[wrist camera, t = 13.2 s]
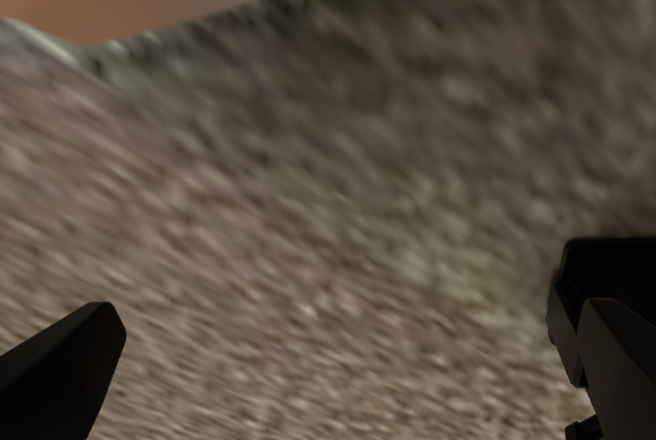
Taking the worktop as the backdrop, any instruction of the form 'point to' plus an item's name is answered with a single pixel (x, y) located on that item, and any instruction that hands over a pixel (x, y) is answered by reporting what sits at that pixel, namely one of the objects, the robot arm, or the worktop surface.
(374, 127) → the worktop surface
